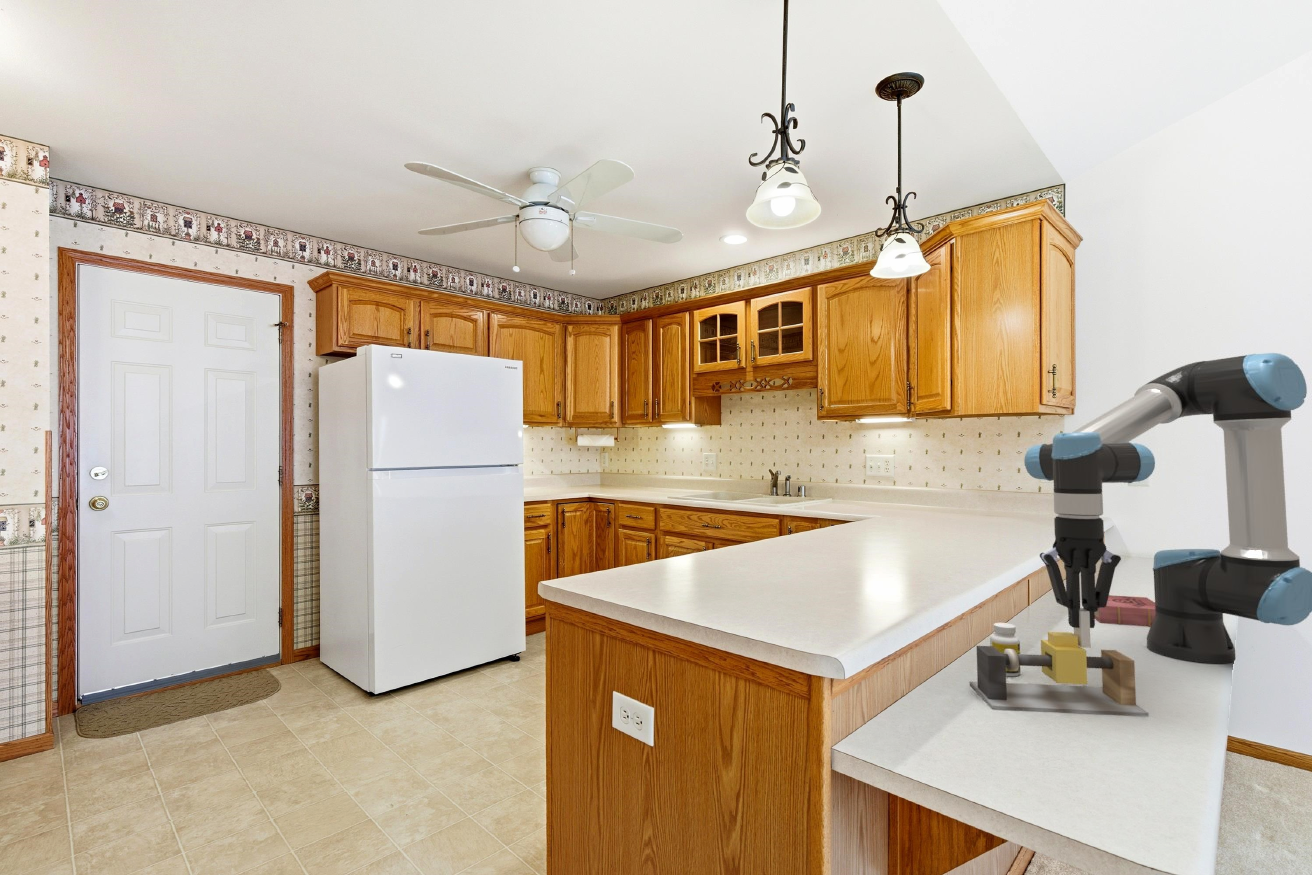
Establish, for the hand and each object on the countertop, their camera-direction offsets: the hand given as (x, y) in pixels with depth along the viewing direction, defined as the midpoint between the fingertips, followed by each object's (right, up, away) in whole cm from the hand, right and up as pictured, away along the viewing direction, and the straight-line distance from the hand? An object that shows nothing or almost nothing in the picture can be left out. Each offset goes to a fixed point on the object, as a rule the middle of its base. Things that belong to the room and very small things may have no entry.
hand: (1082, 645), depth 115 cm
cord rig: (-5, -10, +1) cm, 11 cm away
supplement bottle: (-6, -11, +15) cm, 19 cm away
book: (+49, -12, +55) cm, 74 cm away
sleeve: (-3, -6, 0) cm, 7 cm away
